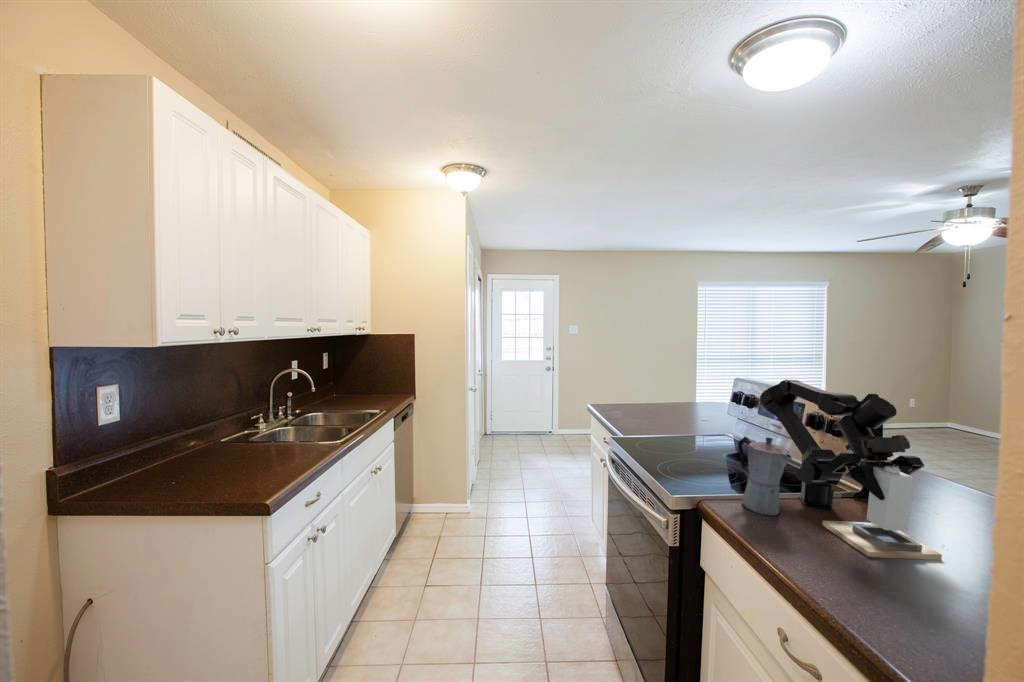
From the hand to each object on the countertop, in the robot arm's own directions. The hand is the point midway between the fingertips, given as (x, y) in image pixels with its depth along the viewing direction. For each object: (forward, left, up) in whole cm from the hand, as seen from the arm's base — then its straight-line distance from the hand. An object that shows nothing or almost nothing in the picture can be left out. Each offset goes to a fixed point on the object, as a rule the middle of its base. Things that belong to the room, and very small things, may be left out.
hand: (894, 500), depth 95 cm
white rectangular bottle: (0, +1, -7) cm, 7 cm away
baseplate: (-1, +3, -12) cm, 12 cm away
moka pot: (-24, +12, -12) cm, 29 cm away
